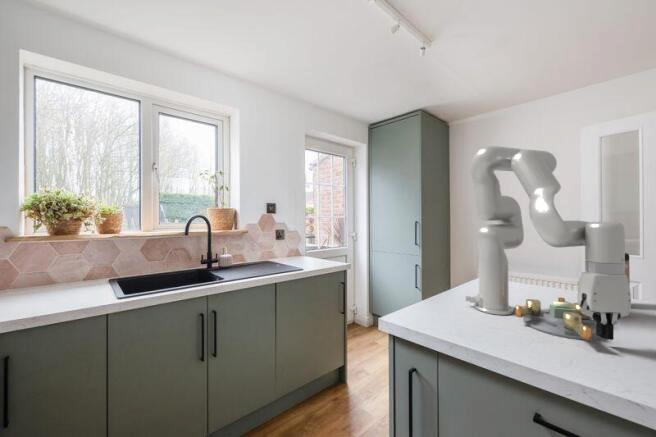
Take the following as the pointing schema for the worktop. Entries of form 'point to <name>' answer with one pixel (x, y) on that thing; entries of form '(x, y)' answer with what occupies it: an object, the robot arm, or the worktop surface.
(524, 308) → the knob
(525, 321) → the tribrach
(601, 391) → the worktop surface
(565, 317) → the knob
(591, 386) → the worktop surface
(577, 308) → the knob
